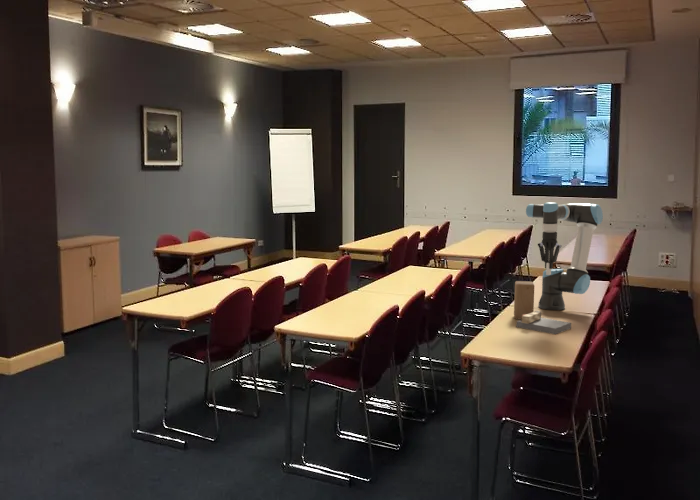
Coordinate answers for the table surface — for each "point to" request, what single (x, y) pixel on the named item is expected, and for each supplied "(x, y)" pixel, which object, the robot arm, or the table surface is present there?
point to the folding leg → (531, 317)
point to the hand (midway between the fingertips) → (548, 274)
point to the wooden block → (523, 298)
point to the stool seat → (545, 325)
